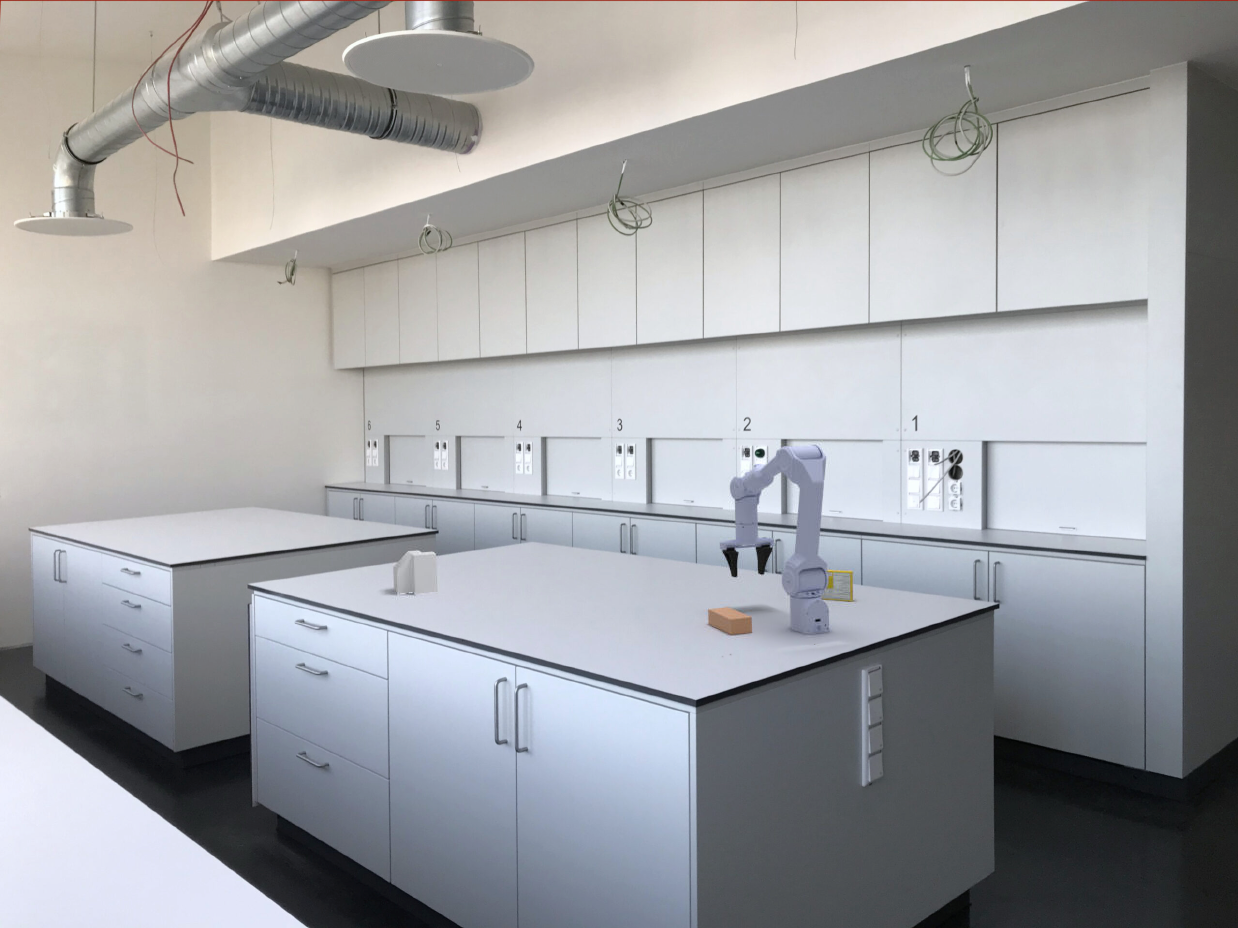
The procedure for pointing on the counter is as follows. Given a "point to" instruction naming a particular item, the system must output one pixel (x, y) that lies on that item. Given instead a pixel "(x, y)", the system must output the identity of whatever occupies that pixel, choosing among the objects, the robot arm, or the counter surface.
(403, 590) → the corner bracket
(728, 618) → the tan rectangular plank
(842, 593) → the candy box
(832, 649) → the counter surface
